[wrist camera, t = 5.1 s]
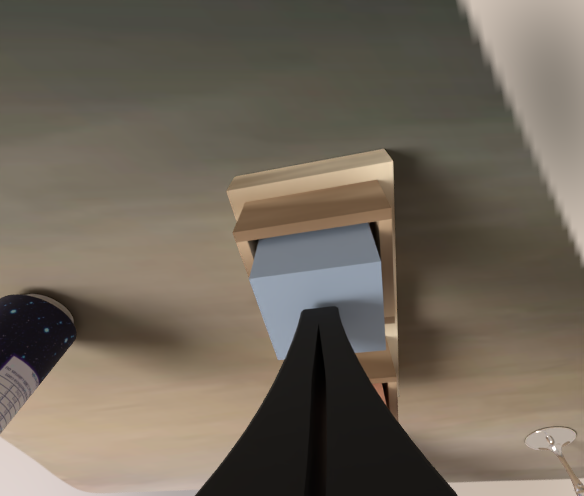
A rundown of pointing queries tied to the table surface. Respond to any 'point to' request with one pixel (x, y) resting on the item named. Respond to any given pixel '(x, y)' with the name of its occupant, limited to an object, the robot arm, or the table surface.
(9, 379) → the beverage can
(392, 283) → the wooden socket board
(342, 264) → the slate key
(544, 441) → the wineglass
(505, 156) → the table surface
